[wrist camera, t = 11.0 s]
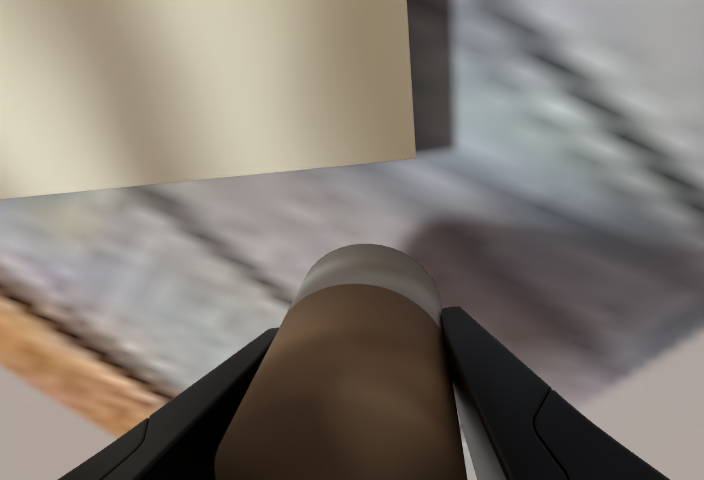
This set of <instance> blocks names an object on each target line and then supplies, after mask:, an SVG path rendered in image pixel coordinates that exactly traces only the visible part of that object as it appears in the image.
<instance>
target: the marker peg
mask: <svg viewBox="0 0 704 480" xmlns="http://www.w3.org/2000/svg"><path fill="white" fill-rule="evenodd" d="M441 310H442V306H441V300H440V295H439V292H438V289H437V287H436V285H435V282H434V281H433V279H432V278H431V276H430V274H429V273H428V272H427V271H426V270H425V269H424V267H422V266H421V265H420V264H419V263H418V262H417V261H416V260H414V259H413V258H411V257H410V256H408V255H406V254H404V253H403V252H401V251H398V250H396V249H393V248H390V247H386V246H382V245H375V244H356V245H350V246H346V247H342V248H339V249H337V250H334V251H332V252H330V253H329V254H327V255H325V256H324V257H322V258H321V259H320V260H318V261H317V262H316V263H315V264H314V265H313V266H312V268H311V269H310V271H309V272H308V273H307V275H306V277H305V279H304V281H303V283H302V285H301V287H300V289H299V291H298V293H297V295H296V297H295V299H294V300H293V302H292V304H291V306H290V308H289V310H288V312H287V314H286V316H285V318H284V320H283V322H282V324H281V326H280V328H279V330H278V332H277V334H276V335H275V337H274V339H273V341H272V343H271V345H270V347H269V349H268V351H267V353H266V355H265V357H264V359H263V361H262V363H261V365H260V367H259V369H258V370H257V372H256V374H255V376H254V378H253V380H252V382H251V384H250V386H249V388H248V390H247V392H246V394H245V396H244V398H243V400H242V402H241V404H240V405H239V407H238V409H237V411H236V413H235V415H234V417H233V419H232V421H231V423H230V425H229V427H228V429H227V431H226V433H225V435H224V437H223V439H222V441H221V442H220V444H219V446H218V449H217V453H216V456H215V465H214V470H215V479H216V480H467V474H466V467H465V461H464V454H463V447H462V441H461V434H460V427H459V420H458V414H457V407H456V400H455V394H454V387H453V380H452V373H451V368H450V364H449V359H448V353H447V347H446V342H445V336H444V329H443V321H442V314H441Z"/></svg>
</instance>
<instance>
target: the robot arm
mask: <svg viewBox="0 0 704 480" xmlns="http://www.w3.org/2000/svg"><path fill="white" fill-rule="evenodd" d="M441 314H442V321H443V329H444V336H445V342H446V347H447V353H448V359H449V364H450V368H451V373H452V380H453V387H454V394H455V400H456V405H457V410H458V414H459V418H460V421H461V425H462V428H463V432H464V435H465V439H466V442H467V445H468V449H469V452H470V456H471V459H472V463H473V466H474V470H475V473H476V477H477V480H670V479H669V478H667V477H666V476H664V475H663V474H662V473H660V472H659V471H657V470H656V469H655V468H653V467H652V466H650V465H649V464H648V463H646V462H645V461H643V460H642V459H641V458H639V457H638V456H636V455H635V454H634V453H632V452H631V451H630V450H628V449H627V448H625V447H624V446H623V445H621V444H620V443H619V442H617V441H616V440H614V439H613V438H612V437H611V436H609V435H608V434H607V433H605V432H604V431H603V430H601V429H600V428H599V427H597V426H596V425H595V424H593V423H592V422H591V421H590V420H588V419H587V418H586V417H585V416H584V415H582V414H581V413H580V412H579V411H578V410H576V409H575V408H574V407H573V406H572V405H570V404H569V403H568V402H567V401H566V400H565V399H563V398H562V397H561V396H560V395H559V394H558V393H557V392H556V391H554V390H552V389H551V387H550V386H549V385H547V384H546V383H545V382H544V381H543V380H542V379H541V378H540V377H538V376H537V375H536V374H535V373H534V372H533V371H532V370H531V369H529V368H528V367H527V366H526V365H525V364H524V363H523V362H521V361H520V360H519V359H518V358H517V357H516V356H515V355H514V354H512V353H511V352H510V351H509V350H508V349H507V348H506V347H504V346H503V345H502V344H501V343H500V342H499V341H498V340H497V339H495V338H494V337H493V336H492V335H491V334H490V333H489V332H487V331H486V330H485V329H484V328H483V327H482V326H481V325H480V324H478V323H477V322H476V321H475V320H474V319H473V318H472V317H470V316H469V315H468V314H467V313H466V312H465V311H464V310H463V309H461V308H460V307H458V306H456V307H448V308H443V309H442V310H441ZM278 330H279V328H271V329H268V330H267V331H265V332H264V333H263V334H261V335H260V336H259V337H257V338H256V339H255V340H253V341H252V342H250V343H249V344H248V345H246V346H245V347H244V348H242V349H241V350H239V351H238V352H237V353H235V354H234V355H233V356H231V357H230V358H229V359H227V360H226V361H224V362H223V363H222V364H220V365H219V366H218V367H216V368H215V369H213V370H212V371H211V372H209V373H208V374H207V375H205V376H204V377H202V378H201V379H200V380H198V381H197V382H196V383H194V384H193V385H192V386H190V387H189V388H187V389H186V390H185V391H183V392H182V393H181V394H179V395H178V396H176V397H175V398H174V399H172V400H171V401H170V402H168V403H167V404H165V405H164V406H163V407H161V408H160V409H159V410H157V411H156V412H155V413H153V414H152V415H150V417H149V418H146V419H145V420H143V421H142V422H141V423H139V424H138V425H137V426H135V427H134V428H133V429H131V430H130V431H128V432H127V433H125V434H124V435H123V436H121V437H120V438H118V439H117V440H116V441H114V442H113V443H112V444H110V445H109V446H107V447H106V448H104V449H103V450H101V451H100V452H98V453H97V454H95V455H94V456H92V457H91V458H89V459H88V460H87V461H85V462H83V463H82V464H80V465H79V466H78V467H76V468H75V469H73V470H72V471H70V472H68V473H67V474H65V475H64V476H62V477H61V478H59V479H58V480H216V479H215V470H214V465H215V456H216V453H217V449H218V446H219V444H220V442H221V441H222V439H223V437H224V435H225V433H226V431H227V429H228V427H229V425H230V423H231V421H232V419H233V417H234V415H235V413H236V411H237V409H238V407H239V405H240V404H241V402H242V400H243V398H244V396H245V394H246V392H247V390H248V388H249V386H250V384H251V382H252V380H253V378H254V376H255V374H256V372H257V370H258V369H259V367H260V365H261V363H262V361H263V359H264V357H265V355H266V353H267V351H268V349H269V347H270V345H271V343H272V341H273V339H274V337H275V335H276V334H277V332H278Z"/></svg>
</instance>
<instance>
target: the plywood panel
mask: <svg viewBox="0 0 704 480" xmlns="http://www.w3.org/2000/svg"><path fill="white" fill-rule="evenodd" d="M407 159H416V149H415V133H414V116H413V99H412V82H411V65H410V48H409V32H408V15H407V0H0V199H6V198H17V197H27V196H37V195H47V194H58V193H68V192H78V191H88V190H99V189H109V188H119V187H130V186H140V185H150V184H160V183H171V182H181V181H191V180H201V179H212V178H222V177H232V176H242V175H253V174H263V173H273V172H283V171H294V170H304V169H314V168H325V167H335V166H345V165H355V164H366V163H376V162H386V161H396V160H407Z"/></svg>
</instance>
